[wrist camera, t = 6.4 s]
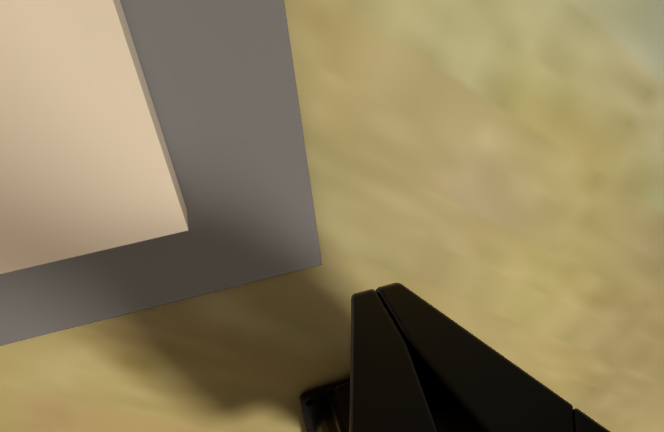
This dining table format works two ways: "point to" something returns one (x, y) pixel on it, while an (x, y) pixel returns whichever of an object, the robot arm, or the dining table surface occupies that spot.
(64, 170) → the tile
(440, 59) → the dining table surface
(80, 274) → the mat
